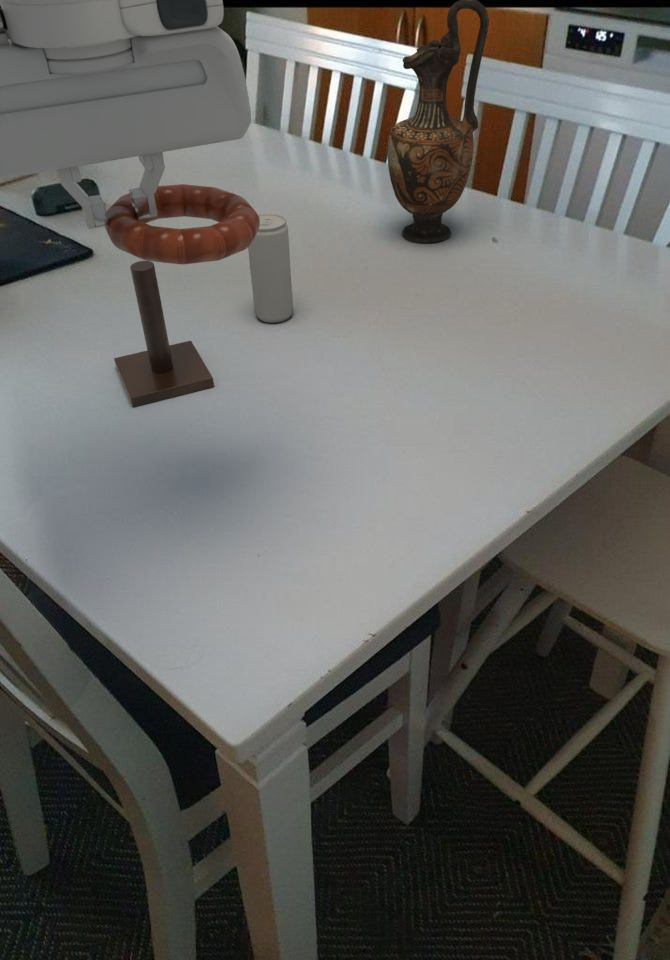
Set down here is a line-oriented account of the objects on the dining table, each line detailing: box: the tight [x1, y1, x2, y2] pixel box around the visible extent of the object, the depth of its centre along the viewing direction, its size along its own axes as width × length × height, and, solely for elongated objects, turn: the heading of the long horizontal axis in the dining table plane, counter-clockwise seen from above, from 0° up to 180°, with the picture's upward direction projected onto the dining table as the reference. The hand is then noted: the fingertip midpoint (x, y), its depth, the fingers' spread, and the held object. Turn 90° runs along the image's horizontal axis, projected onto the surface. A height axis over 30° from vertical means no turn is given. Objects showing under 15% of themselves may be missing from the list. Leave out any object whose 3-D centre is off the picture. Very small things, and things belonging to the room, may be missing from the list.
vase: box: [386, 0, 490, 244], centre depth 108 cm, size 12×12×30 cm
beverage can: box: [247, 213, 294, 324], centre depth 97 cm, size 5×5×12 cm
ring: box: [104, 183, 260, 265], centre depth 61 cm, size 11×11×2 cm
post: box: [113, 260, 215, 408], centre depth 86 cm, size 9×9×13 cm
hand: (122, 220), depth 59 cm, fingers closed on ring, 2 cm apart
